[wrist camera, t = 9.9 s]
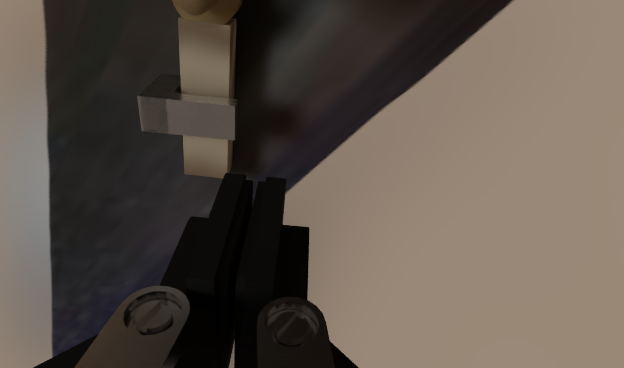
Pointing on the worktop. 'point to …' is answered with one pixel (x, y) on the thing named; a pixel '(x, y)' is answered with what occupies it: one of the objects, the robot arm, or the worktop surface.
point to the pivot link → (207, 74)
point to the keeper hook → (186, 111)
